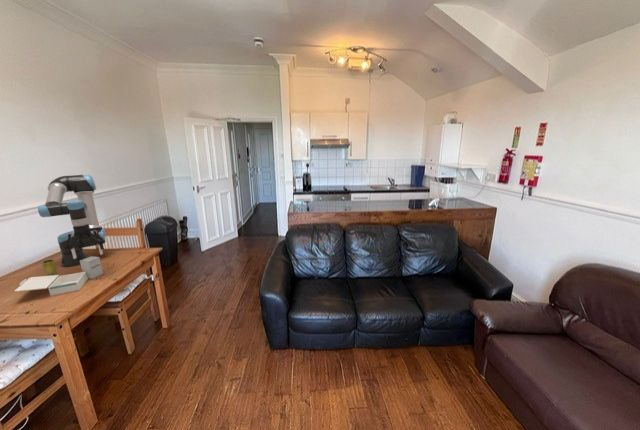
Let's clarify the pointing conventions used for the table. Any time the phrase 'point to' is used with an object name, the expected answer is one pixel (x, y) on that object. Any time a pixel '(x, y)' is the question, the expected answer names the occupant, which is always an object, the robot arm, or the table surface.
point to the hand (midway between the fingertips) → (88, 256)
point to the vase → (50, 268)
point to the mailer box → (68, 283)
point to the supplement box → (91, 267)
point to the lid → (36, 283)
